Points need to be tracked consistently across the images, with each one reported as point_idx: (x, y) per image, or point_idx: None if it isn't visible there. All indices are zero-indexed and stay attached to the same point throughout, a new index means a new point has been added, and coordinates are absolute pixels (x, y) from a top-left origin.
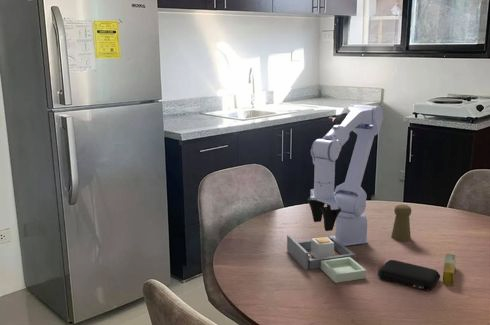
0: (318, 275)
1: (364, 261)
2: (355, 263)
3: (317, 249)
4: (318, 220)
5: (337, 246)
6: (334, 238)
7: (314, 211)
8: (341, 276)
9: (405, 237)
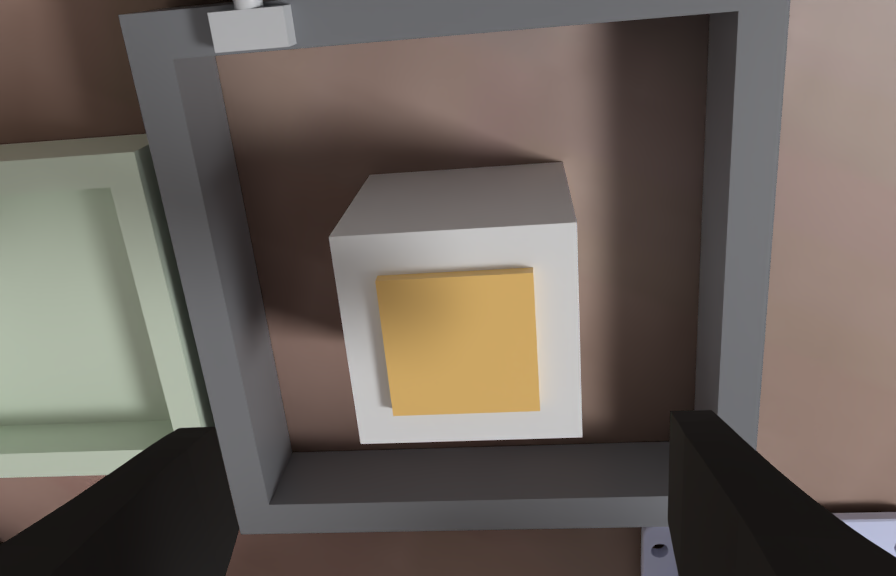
0: (15, 49)
1: (284, 556)
2: (56, 456)
3: (368, 211)
4: (673, 494)
5: (559, 475)
6: None
7: (746, 566)
8: None
9: None
